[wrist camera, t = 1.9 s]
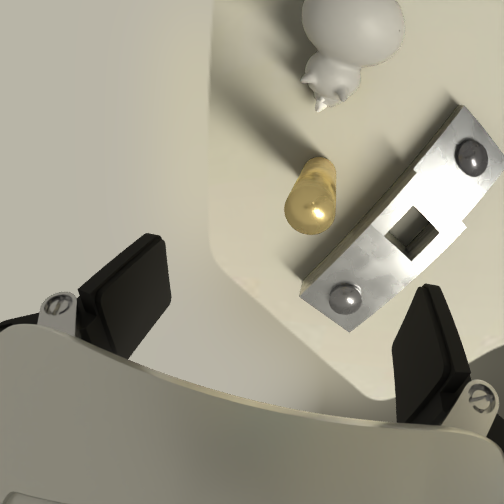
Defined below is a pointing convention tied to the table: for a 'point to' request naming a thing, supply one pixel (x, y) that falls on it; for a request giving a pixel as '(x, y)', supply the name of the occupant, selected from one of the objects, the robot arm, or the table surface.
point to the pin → (313, 198)
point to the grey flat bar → (389, 213)
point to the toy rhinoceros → (348, 43)
